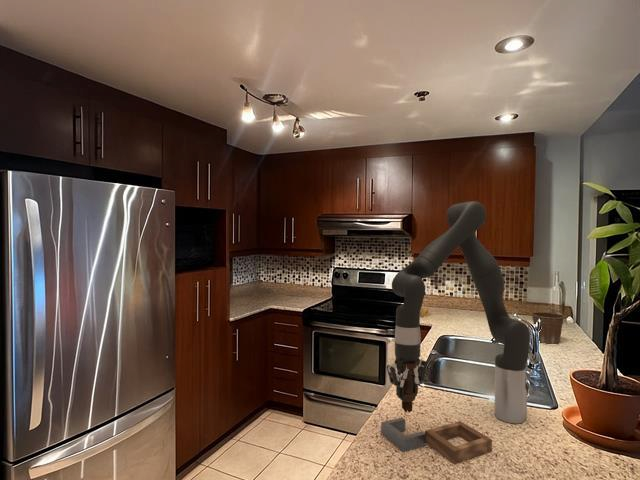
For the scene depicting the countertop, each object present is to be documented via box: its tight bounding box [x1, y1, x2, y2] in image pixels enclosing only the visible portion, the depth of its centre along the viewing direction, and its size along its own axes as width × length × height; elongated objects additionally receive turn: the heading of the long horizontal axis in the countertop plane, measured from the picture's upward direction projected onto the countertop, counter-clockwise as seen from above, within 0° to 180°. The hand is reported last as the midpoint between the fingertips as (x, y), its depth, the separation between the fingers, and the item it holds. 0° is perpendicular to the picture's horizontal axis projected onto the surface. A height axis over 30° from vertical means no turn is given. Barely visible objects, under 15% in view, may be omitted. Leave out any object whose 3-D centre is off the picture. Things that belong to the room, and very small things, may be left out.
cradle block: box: [380, 416, 427, 453], centre depth 117 cm, size 8×11×4 cm
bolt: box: [400, 361, 417, 413], centre depth 118 cm, size 6×5×15 cm
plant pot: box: [531, 311, 566, 345], centre depth 220 cm, size 16×16×16 cm
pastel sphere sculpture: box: [420, 306, 432, 318], centre depth 290 cm, size 25×24×9 cm
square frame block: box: [424, 420, 493, 465], centre depth 113 cm, size 14×12×4 cm
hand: (407, 396), depth 118 cm, fingers closed on bolt, 4 cm apart
